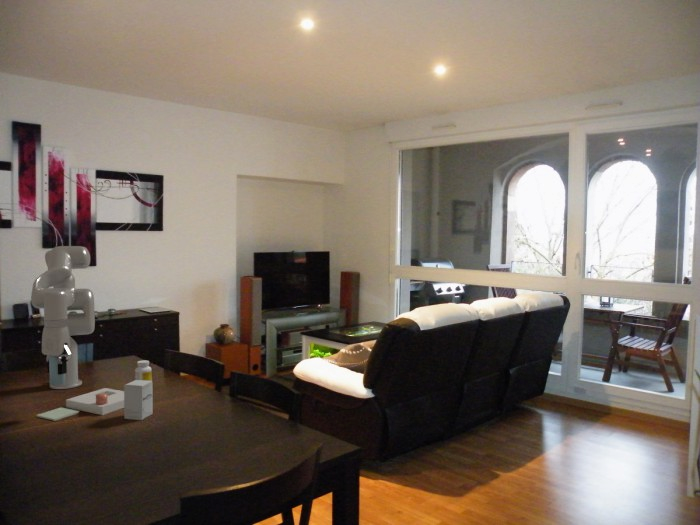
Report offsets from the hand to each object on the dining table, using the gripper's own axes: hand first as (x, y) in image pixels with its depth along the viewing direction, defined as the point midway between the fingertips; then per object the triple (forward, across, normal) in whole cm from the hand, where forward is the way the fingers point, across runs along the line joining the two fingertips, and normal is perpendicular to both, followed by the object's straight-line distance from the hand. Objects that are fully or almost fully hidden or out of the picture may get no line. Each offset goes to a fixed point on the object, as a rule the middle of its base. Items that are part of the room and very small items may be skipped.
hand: (57, 372), depth 201 cm
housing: (+16, +5, +16) cm, 23 cm away
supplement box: (+16, +28, +12) cm, 34 cm away
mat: (+16, 0, 0) cm, 16 cm away
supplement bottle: (+16, +5, +36) cm, 40 cm away
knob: (+14, +11, +10) cm, 20 cm away
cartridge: (+4, 0, 0) cm, 4 cm away
